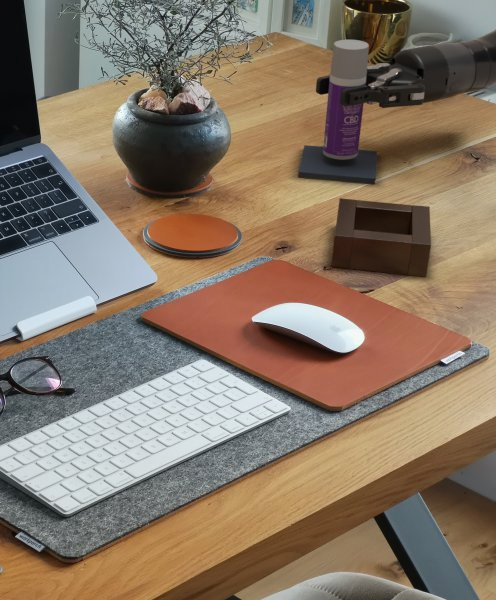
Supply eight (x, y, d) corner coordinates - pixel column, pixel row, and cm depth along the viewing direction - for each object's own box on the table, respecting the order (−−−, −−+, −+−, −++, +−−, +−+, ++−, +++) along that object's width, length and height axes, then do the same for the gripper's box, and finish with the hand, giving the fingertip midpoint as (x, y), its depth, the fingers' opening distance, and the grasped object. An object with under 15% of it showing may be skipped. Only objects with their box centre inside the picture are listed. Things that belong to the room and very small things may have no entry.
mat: (376, 156, 155) (377, 151, 154) (374, 184, 146) (375, 178, 146) (303, 150, 157) (304, 145, 157) (298, 177, 148) (298, 171, 148)
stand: (424, 237, 133) (429, 206, 131) (425, 277, 124) (431, 244, 122) (336, 228, 135) (339, 198, 133) (331, 266, 126) (334, 235, 124)
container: (343, 162, 148) (354, 51, 140) (315, 152, 151) (325, 44, 144) (365, 153, 150) (377, 44, 143) (337, 144, 154) (348, 37, 146)
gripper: (400, 33, 156) (299, 50, 149) (473, 60, 144) (367, 79, 138) (394, 85, 159) (295, 103, 153) (464, 115, 148) (361, 137, 141)
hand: (330, 92), depth 145 cm, fingers closed on container, 4 cm apart
